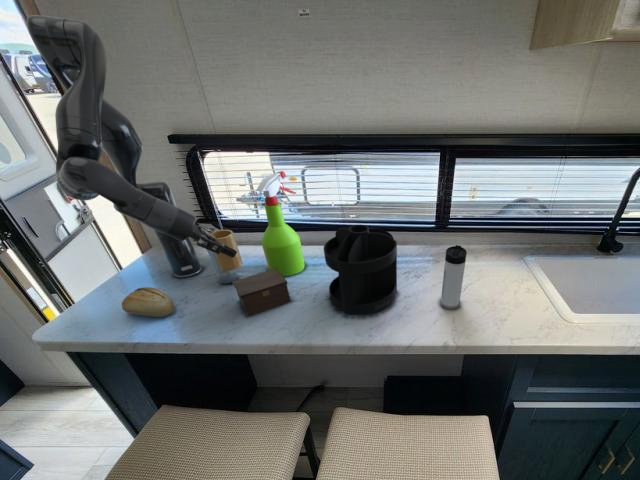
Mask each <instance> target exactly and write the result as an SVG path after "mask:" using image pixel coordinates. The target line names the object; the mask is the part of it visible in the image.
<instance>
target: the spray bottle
mask: <svg viewBox="0 0 640 480" xmlns="http://www.w3.org/2000/svg"><path fill="white" fill-rule="evenodd" d="M286 175H287V174H286V172H285V171H283V170H281V171H277V172H276V171H275V172H274V173H271V174H270V175H268V176H266V177H265V178H263V179H262V180H261V182H260V183H259V184H258V186H257V188H256V190H255V191H257V192H259V193H260V192H261V193H263V197H265V198H264V202H265V204H264V208H265V214H266V219H267V223H268V224H267V225H268V226H267V227H266V229H265V231H264V233H263V236H262V239H261V242H260V243H261V246H262V250H263V254H264V258H265V261H266V264H267V268H268V271H269V270H272V269H276V268H277V270H278V271H279V272H280V273H281V275H282V276H283V277H284V278H286V277H291V276H295V275H297V274H299V273H301V272H302V271H303V270H305V267H306V265H305V258H304V254H303V253H304V252H303V249H302V243H301V237H300V235H299V234H298V232H296V231H295V229H294V228H292V227H291V226H289V225H288V224H287V223H286V221H285V218H284V214H283V210H282V205H281V203H280V202H279V200H278V198H277V194H278V192H279V190H281V191H284V192H287V193H290V194H293V195H296V194H297V192H295V191H293V190H291V189H290V188H288V187H285V186H284V184H283V182H284V179H285V178H286Z"/></svg>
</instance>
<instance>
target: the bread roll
mask: <svg viewBox="0 0 640 480" xmlns="http://www.w3.org/2000/svg"><path fill="white" fill-rule="evenodd" d="M121 308H122V310H123V312H125V313H126V314H130V315H137V316H144V317H151V318H164V317H167V316H169V315H171V314H172V313H173V311H174V309H175V305H174V301H173V299H172V298H171V297H170V296H169V295H168V294H167V293H166V292H165V291H163V290H162V289H159V288H157V287H148V286H146V287H145V286H143V287H138V288H136V289H135V290H133V291H132V292H130V293H128V294H127V296H125V297H124V299H123V300H122V302H121Z"/></svg>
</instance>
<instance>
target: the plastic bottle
mask: <svg viewBox="0 0 640 480" xmlns="http://www.w3.org/2000/svg"><path fill="white" fill-rule="evenodd" d="M208 228H209V229H211V230H213V231H218V230H217V228H216V227H208ZM205 250H206V251H207V253H208V255H209V257H210V259H211V261H212V263H213V266H214V270H215V276H216V279H217V280H218V281H219V282H220V283H221V284H230V283H232V281H234V280H237V278H238V273H237V271H236V269H234V270H229V271H224V270H221V269H220V268H219V266H218V263H217V261H216V258H215V255H214V252H212V251H210V250H207V249H205Z"/></svg>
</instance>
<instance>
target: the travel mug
mask: <svg viewBox="0 0 640 480" xmlns="http://www.w3.org/2000/svg"><path fill="white" fill-rule="evenodd" d="M467 255H468V254H467V249H466V248H464V247H462V245H457V244H455V245H453V246H452V245H451V246H449V247H447V249H446V250H445V258H444V263H443V264H444V265H443V275H442V284H441V295H440V305H441V306H442V308H444V309H448V310H453V309H457V308H458V307H459V306H460V302H461V301H460V300H461V295H462V288H463V282H464V276H465V275H464V274H465V268H466V267H465V266H466V261H467Z"/></svg>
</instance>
